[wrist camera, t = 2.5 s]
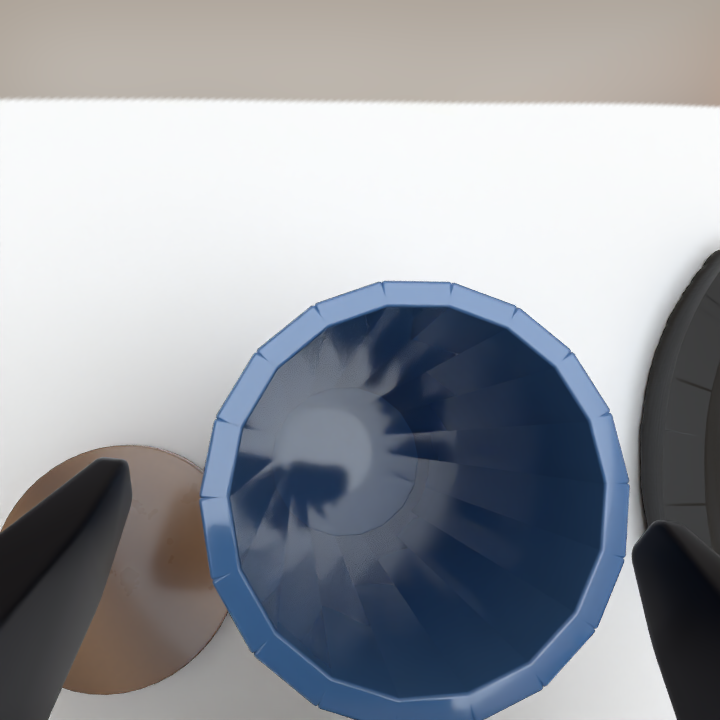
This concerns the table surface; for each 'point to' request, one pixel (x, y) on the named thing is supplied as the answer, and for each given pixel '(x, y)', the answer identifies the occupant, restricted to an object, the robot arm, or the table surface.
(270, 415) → the pen cup
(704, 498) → the dark sector wedge
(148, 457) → the coaster
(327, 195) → the table surface
